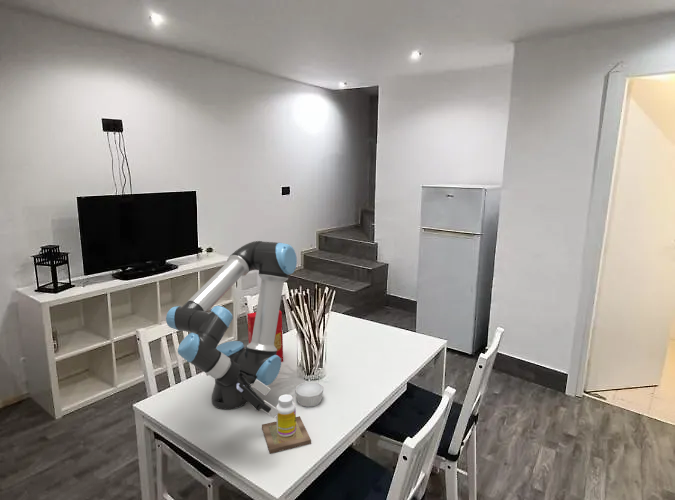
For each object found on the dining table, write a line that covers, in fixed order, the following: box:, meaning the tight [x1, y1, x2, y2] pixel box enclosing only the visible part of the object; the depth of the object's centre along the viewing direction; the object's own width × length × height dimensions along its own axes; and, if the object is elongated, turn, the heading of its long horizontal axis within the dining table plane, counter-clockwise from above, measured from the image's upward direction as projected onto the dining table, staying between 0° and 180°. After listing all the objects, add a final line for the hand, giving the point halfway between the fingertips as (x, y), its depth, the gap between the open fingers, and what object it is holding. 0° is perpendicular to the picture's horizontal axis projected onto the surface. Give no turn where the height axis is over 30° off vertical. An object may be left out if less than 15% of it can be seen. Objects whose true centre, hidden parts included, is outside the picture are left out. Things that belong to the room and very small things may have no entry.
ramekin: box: [294, 381, 324, 408], centre depth 164 cm, size 11×11×5 cm
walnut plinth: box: [261, 416, 312, 454], centre depth 143 cm, size 14×14×2 cm
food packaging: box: [247, 309, 284, 363], centre depth 192 cm, size 15×5×25 cm, turn 118°
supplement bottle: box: [275, 393, 297, 437], centre depth 142 cm, size 7×7×13 cm
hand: (272, 402), depth 138 cm, fingers open, 13 cm apart
